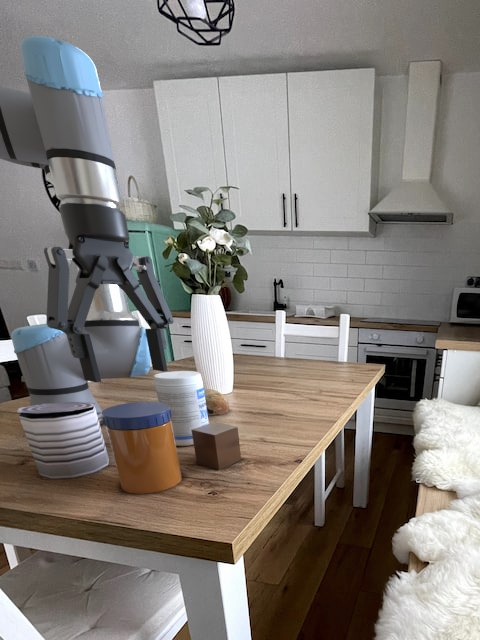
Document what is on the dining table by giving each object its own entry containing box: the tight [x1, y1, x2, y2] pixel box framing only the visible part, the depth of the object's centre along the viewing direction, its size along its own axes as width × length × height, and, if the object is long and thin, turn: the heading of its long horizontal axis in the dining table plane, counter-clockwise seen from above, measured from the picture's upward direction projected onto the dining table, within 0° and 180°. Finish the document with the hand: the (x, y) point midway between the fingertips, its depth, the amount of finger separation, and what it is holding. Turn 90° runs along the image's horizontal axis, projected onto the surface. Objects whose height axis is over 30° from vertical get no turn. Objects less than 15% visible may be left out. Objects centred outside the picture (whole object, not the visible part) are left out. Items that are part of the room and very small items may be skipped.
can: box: [15, 402, 110, 480], centre depth 72 cm, size 11×11×12 cm
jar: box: [105, 420, 183, 495], centre depth 67 cm, size 10×10×13 cm
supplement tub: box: [153, 370, 210, 447], centre depth 86 cm, size 10×10×15 cm
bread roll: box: [204, 388, 230, 417], centre depth 110 cm, size 10×10×8 cm
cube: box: [191, 421, 242, 471], centre depth 77 cm, size 6×6×7 cm
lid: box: [102, 401, 172, 430], centre depth 65 cm, size 10×10×2 cm
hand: (129, 375), depth 62 cm, fingers open, 10 cm apart
